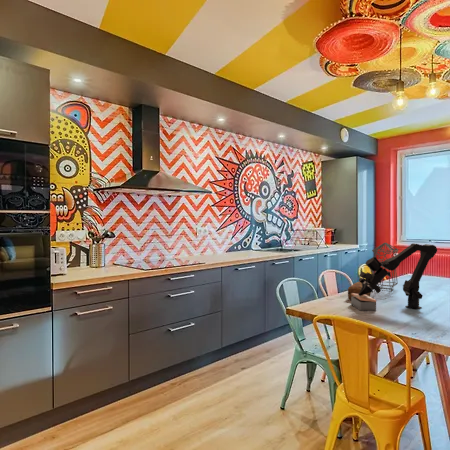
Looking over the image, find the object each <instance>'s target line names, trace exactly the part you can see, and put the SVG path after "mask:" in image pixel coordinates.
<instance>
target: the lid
mask: <svg viewBox="0 0 450 450" xmlns="http://www.w3.org/2000/svg"><path fill="white" fill-rule="evenodd" d="M351 295H353V296H354V297H356V298H358V299H359V300H362V301H371V302H376V303H377V299H375V298H373V297H371V296H370V297H369V296H367V295H361V296H359V295H358V294H355V293H352V294H351Z"/></svg>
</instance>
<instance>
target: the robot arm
mask: <svg viewBox="0 0 450 450" xmlns="http://www.w3.org/2000/svg"><path fill="white" fill-rule="evenodd" d="M418 251H419V252H420V253H419V254H420V258H419V259H418V262H417V264H416V266H415V268H414V271H412V272H413V273H412V275H411V276H410V279H409V280H407V279H406V280H405V281H404V283H403V284H402V291H403V292H404V294H405V296H406V297H407V305H405V308H409V309H412V310H419V309H422V308H423V307H422V306H420V300H421V299H423V294H422V293H421V292H420V291H419V290H420V281H421V279H422V277H423V275H424V272H425V270H426V269H427V266H428V264H429V262H430V260H432V259H433V258H434V257H435V255H436V254H437V252H438V248H437V246H436V245H434V244H427V243H426V244H425V243H424V244H419V243H410V245H409V246H407V247H406V248H404V249H403V250H402V251H400V252H399V253H396V256H394V255H393V256H394V257H393V256H391V257H389V258H387V259H385V260H383V261H384V262H380V260H379V259H378V258H377V256H376V257H375V256H373V257H371V258H369V259H368V260H366V261H365V265H366V266H367V268H369V270H371V271H372V272H374V273H370V272H364V271H361V272H360V273H359V279H358V282H361V283H362V288H361V290H360V292H359V294H358V295H359V296H361V295H364V294H367V293H370V292H371V293H373V292H374V291H375V293H376V294H379V293H380V292H381V291H382V289H380V288H379V287H378V285H377V284H380V283H381V284H382V279H383V280H384V279H385V278H386V277H388V278H389V277H390V278H392V272H394V270H395V269H396V270H397V269H398V267H399V266H400V264H401V263H402V262H403V261H405V260H406V259H407V258H409V257H410V256H412V255H413V254H414V253H416V252H418ZM382 267H383V268H382ZM375 271H376V272H375ZM389 271H391V272H389Z"/></svg>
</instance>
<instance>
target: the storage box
mask: <svg viewBox="0 0 450 450" xmlns="http://www.w3.org/2000/svg"><path fill="white" fill-rule="evenodd" d="M350 301H351V302H350V305H351V306H352V307H354V308H355V309H357V310H359V311H360V312H376V311H377V301H376V302H371V301H362V300H359V299H358V298H356V297H351V300H350Z"/></svg>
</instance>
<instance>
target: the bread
mask: <svg viewBox="0 0 450 450" xmlns="http://www.w3.org/2000/svg"><path fill="white" fill-rule="evenodd" d="M361 288H362V283H361V282H360V281H357V282H355V283H353V284H351V285H350V286H348V288H347V299H348V300H350V301H351V297H354V296H353V295H351V294H352V293H355V294H359V292H360V290H361ZM371 294H372V292H370V293H367V294H364V295H367V296H369V297H371Z"/></svg>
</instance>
